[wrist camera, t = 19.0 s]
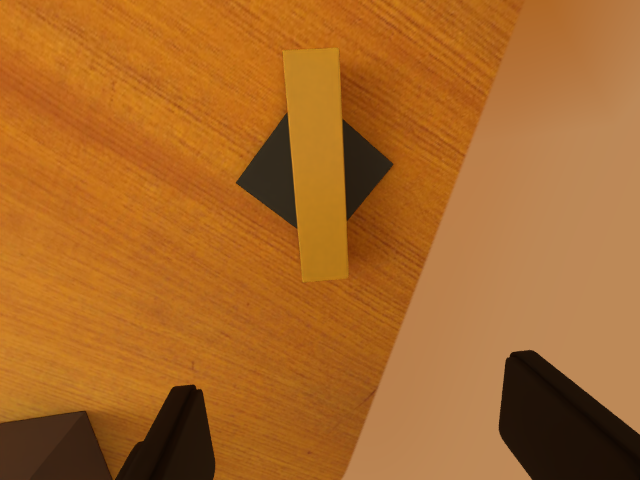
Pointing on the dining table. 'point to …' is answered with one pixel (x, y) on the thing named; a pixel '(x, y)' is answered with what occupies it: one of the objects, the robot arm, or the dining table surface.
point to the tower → (51, 449)
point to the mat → (277, 174)
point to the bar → (317, 160)
